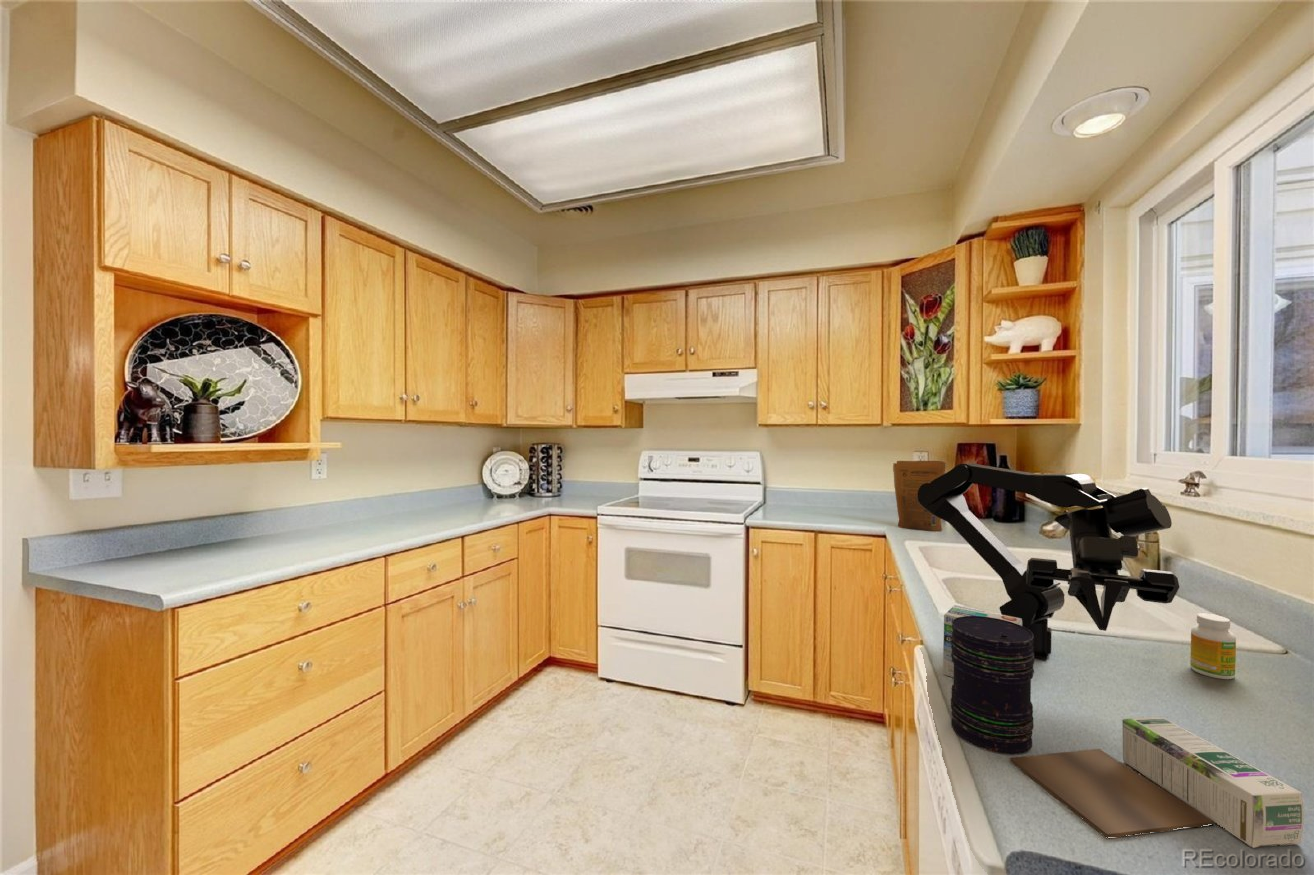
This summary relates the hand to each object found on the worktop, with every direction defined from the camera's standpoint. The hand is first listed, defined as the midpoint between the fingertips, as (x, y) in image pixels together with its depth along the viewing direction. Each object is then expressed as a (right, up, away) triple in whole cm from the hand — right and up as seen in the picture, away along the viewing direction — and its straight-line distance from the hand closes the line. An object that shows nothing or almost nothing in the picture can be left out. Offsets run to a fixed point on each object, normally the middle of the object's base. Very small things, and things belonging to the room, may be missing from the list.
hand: (1103, 629), depth 83 cm
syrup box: (-6, -9, -13) cm, 18 cm away
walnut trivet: (-16, -12, -19) cm, 28 cm away
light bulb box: (-13, -12, +9) cm, 20 cm away
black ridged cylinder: (-22, -12, -7) cm, 26 cm away
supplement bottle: (+27, -11, +10) cm, 31 cm away
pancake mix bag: (+37, -8, +134) cm, 139 cm away
